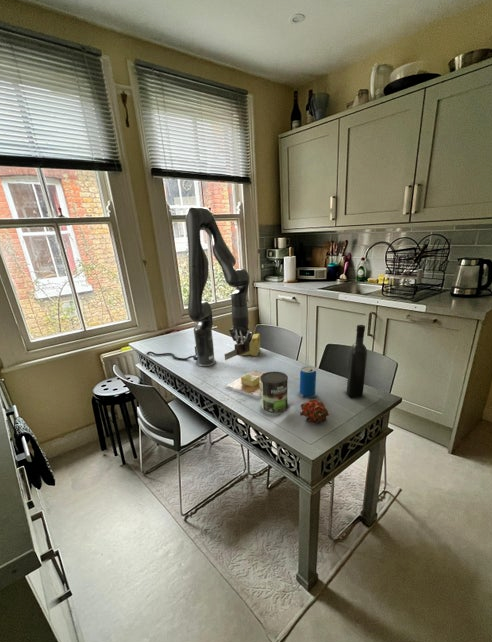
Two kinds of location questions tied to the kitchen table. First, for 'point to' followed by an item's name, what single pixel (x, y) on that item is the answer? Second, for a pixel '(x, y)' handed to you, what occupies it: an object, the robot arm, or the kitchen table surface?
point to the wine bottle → (357, 365)
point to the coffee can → (274, 392)
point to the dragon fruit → (314, 411)
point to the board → (246, 388)
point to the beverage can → (307, 382)
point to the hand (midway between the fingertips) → (242, 350)
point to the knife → (236, 351)
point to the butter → (250, 380)
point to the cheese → (254, 345)
